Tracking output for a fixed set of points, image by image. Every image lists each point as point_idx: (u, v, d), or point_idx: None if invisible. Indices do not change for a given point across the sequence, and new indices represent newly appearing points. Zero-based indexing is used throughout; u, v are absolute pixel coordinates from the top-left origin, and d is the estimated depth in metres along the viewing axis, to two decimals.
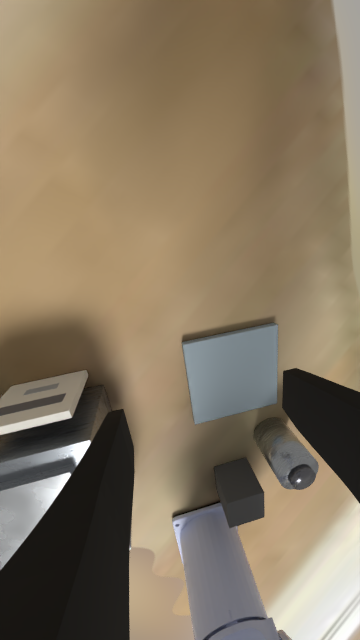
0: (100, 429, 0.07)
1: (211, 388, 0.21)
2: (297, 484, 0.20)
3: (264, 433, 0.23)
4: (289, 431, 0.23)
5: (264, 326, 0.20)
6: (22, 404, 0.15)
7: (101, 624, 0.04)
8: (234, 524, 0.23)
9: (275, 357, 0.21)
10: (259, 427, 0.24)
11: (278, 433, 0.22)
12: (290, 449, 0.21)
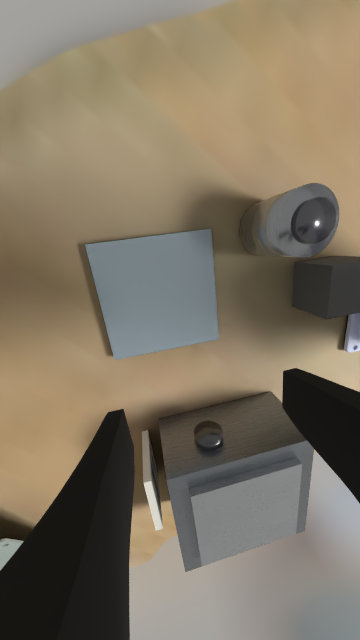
0: (100, 429, 0.07)
1: (173, 325, 0.18)
2: (320, 232, 0.12)
3: (253, 248, 0.17)
4: (256, 212, 0.15)
5: (90, 262, 0.15)
6: None
7: (101, 624, 0.04)
8: None
9: (135, 241, 0.15)
10: (248, 249, 0.17)
11: (252, 234, 0.15)
12: (268, 231, 0.14)
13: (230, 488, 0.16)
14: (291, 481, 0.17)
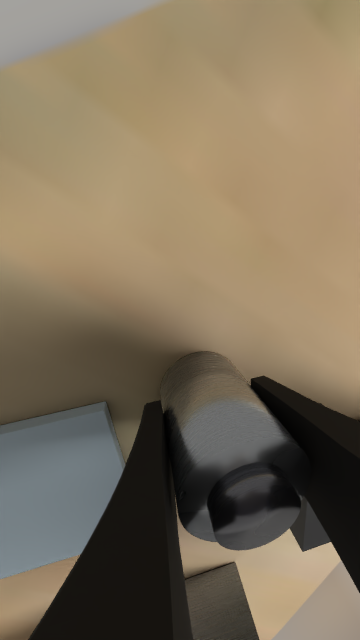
0: (145, 419, 0.08)
1: (62, 533, 0.11)
2: (269, 531, 0.06)
3: None
4: (170, 402, 0.08)
5: None
6: None
7: (180, 596, 0.04)
8: None
9: None
10: None
11: None
12: None
13: None
14: None
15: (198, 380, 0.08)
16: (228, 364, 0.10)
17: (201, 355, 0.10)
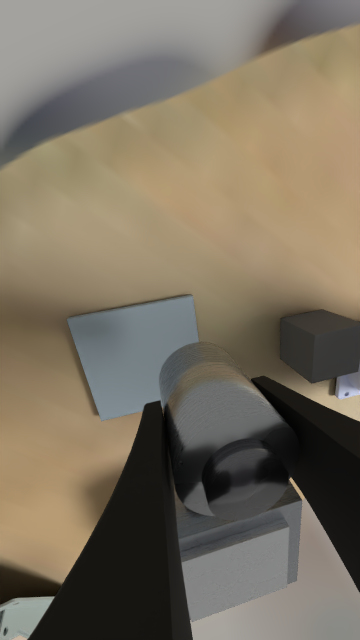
0: (144, 419, 0.08)
1: (158, 386, 0.18)
2: (258, 503, 0.06)
3: None
4: (169, 386, 0.09)
5: None
6: None
7: (180, 596, 0.04)
8: (354, 366, 0.17)
9: (117, 313, 0.15)
10: None
11: None
12: None
13: (216, 553, 0.16)
14: (279, 542, 0.17)
15: (197, 366, 0.09)
16: (225, 354, 0.10)
17: (200, 345, 0.10)
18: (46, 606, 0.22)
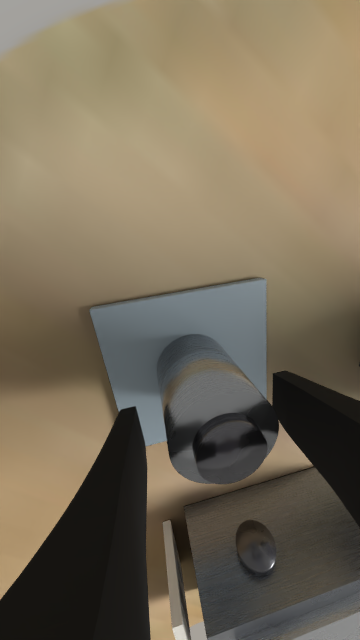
0: (115, 426, 0.07)
1: None
2: (241, 469, 0.07)
3: None
4: (165, 372, 0.10)
5: None
6: None
7: (128, 615, 0.04)
8: None
9: (161, 301, 0.11)
10: None
11: None
12: None
13: None
14: None
15: (191, 354, 0.10)
16: (217, 345, 0.11)
17: (194, 336, 0.11)
18: None
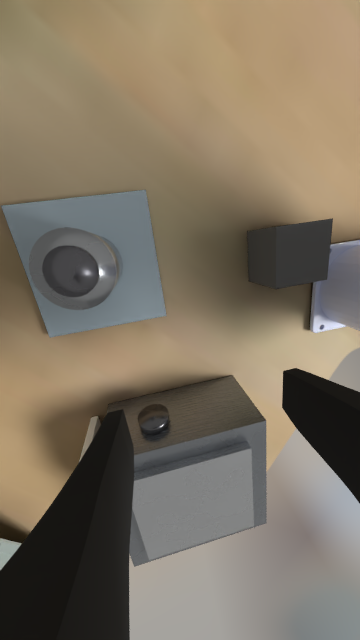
0: (100, 429, 0.07)
1: (112, 299, 0.16)
2: (80, 285, 0.10)
3: None
4: None
5: None
6: None
7: (101, 624, 0.04)
8: (323, 271, 0.15)
9: (59, 203, 0.14)
10: None
11: None
12: None
13: (170, 474, 0.15)
14: (241, 468, 0.16)
15: None
16: (105, 238, 0.14)
17: None
18: None
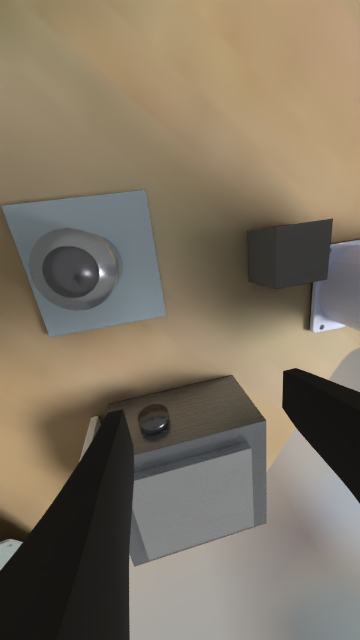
0: (100, 429, 0.07)
1: (112, 299, 0.16)
2: (80, 286, 0.10)
3: None
4: None
5: None
6: None
7: (101, 624, 0.04)
8: (323, 272, 0.15)
9: (59, 203, 0.14)
10: None
11: None
12: None
13: (170, 474, 0.15)
14: (241, 468, 0.16)
15: None
16: (105, 238, 0.14)
17: None
18: None
